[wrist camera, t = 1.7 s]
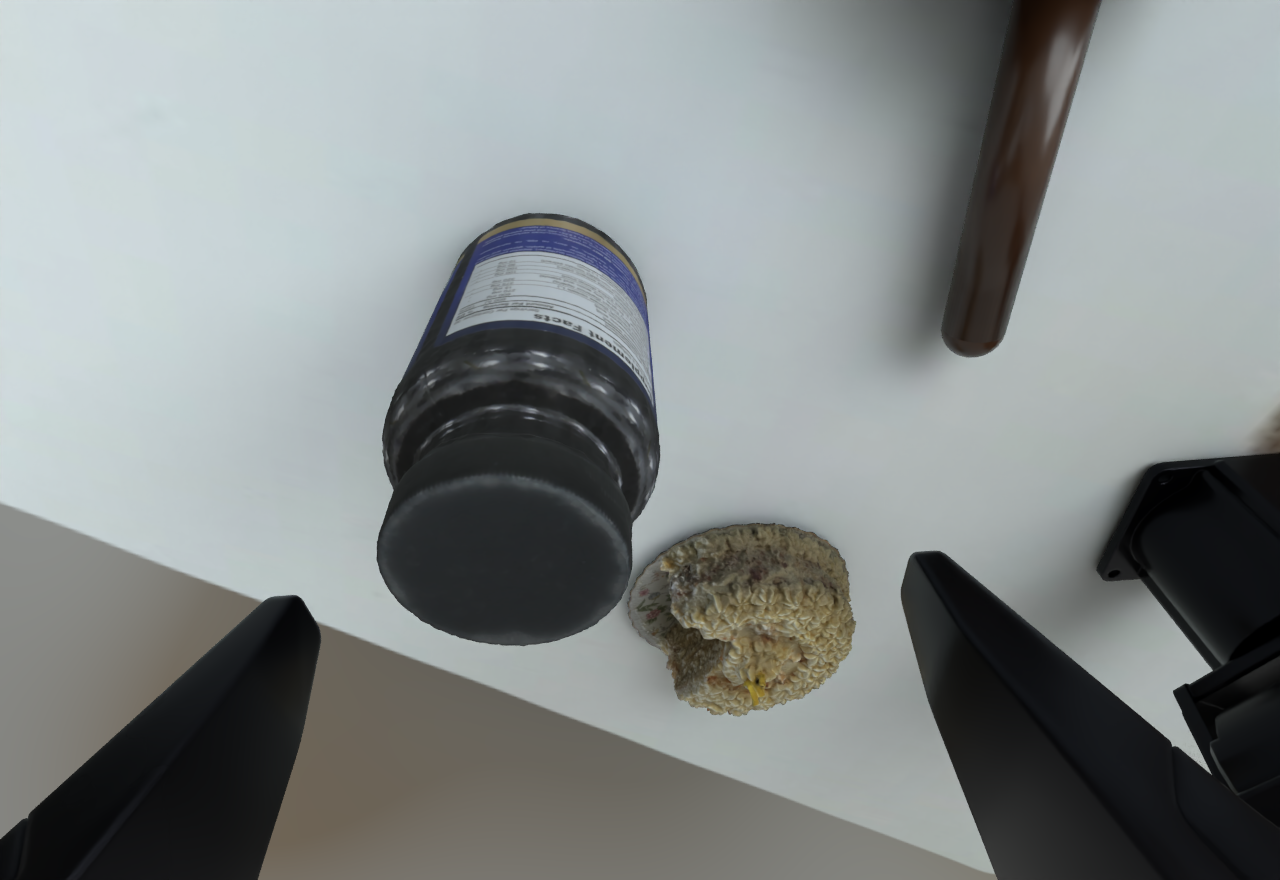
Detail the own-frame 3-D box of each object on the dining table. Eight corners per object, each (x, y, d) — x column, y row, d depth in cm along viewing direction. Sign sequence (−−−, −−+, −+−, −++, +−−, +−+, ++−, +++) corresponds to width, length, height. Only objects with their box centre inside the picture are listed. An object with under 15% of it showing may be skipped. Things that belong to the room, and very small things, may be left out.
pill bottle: (556, 414, 24) (522, 702, 15) (411, 302, 21) (264, 576, 12) (687, 303, 21) (736, 572, 12) (542, 158, 18) (473, 374, 10)
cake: (847, 490, 27) (903, 596, 23) (841, 633, 33) (883, 737, 29) (607, 537, 27) (618, 651, 23) (645, 671, 33) (659, 780, 29)
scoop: (1059, 325, 22) (1112, 374, 20) (845, 343, 22) (872, 394, 20) (1411, -702, 11) (1638, -880, 8) (967, -645, 11) (1064, -801, 8)
